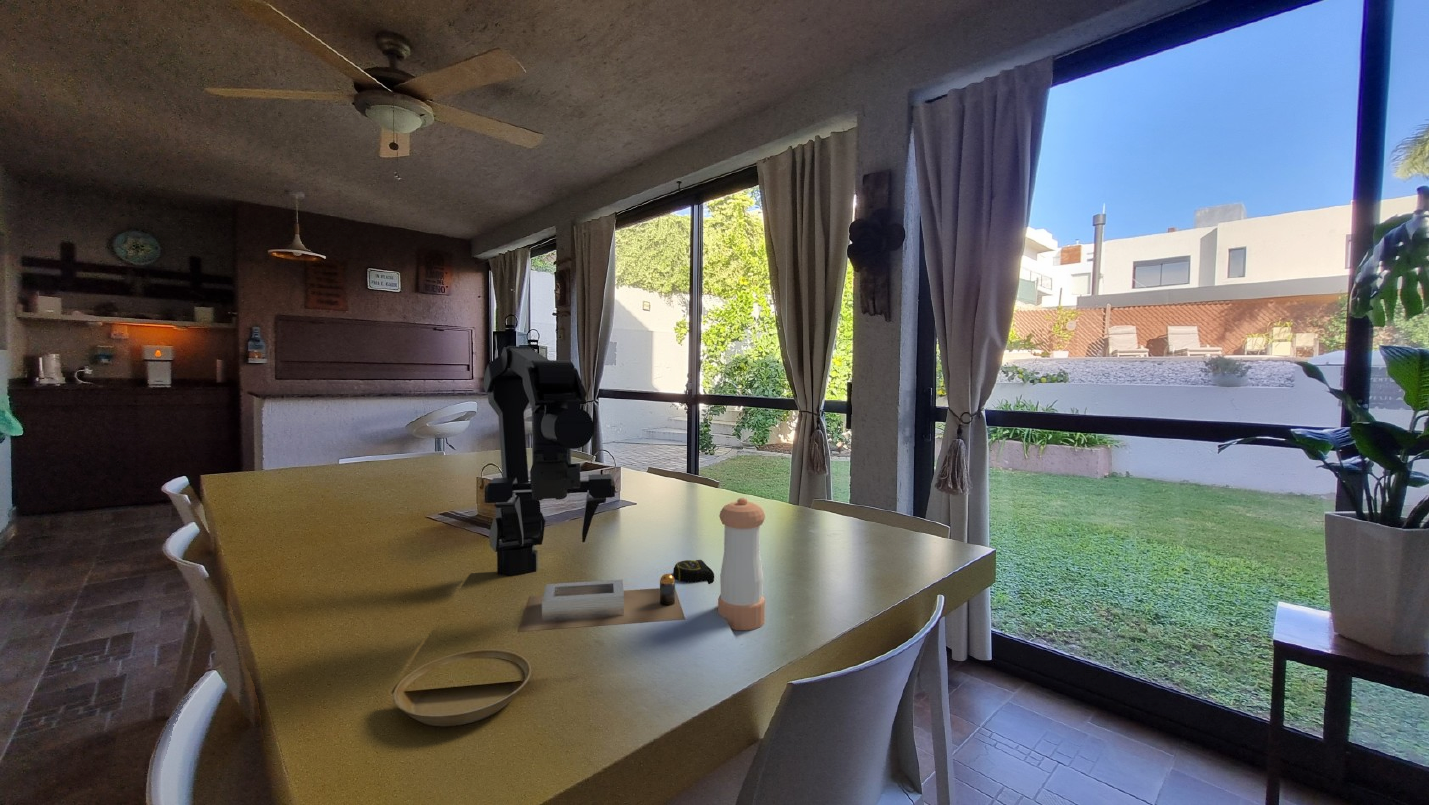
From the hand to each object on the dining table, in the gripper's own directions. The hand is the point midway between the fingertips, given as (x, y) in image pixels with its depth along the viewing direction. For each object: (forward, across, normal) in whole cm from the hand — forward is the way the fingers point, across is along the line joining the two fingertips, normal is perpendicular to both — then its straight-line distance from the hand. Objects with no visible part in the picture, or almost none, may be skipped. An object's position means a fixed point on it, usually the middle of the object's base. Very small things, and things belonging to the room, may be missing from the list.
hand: (552, 543), depth 88 cm
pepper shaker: (+12, +28, -6) cm, 32 cm away
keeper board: (+12, +8, 0) cm, 14 cm away
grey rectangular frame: (+11, +5, 0) cm, 12 cm away
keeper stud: (+11, +18, 0) cm, 21 cm away
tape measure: (+12, +24, +12) cm, 30 cm away
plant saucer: (+13, -9, -20) cm, 25 cm away
